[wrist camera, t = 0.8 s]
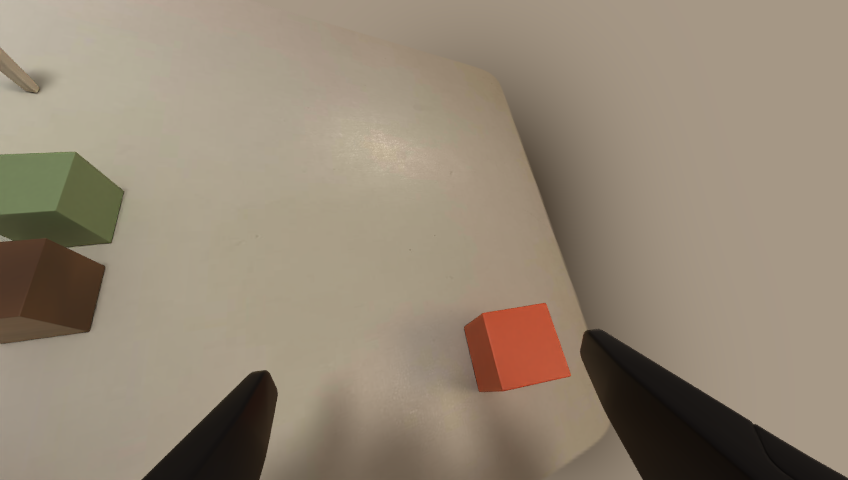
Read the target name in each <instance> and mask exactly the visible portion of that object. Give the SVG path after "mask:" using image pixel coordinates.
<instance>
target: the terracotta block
mask: <svg viewBox="0 0 848 480" xmlns="http://www.w3.org/2000/svg"><path fill="white" fill-rule="evenodd" d="M464 329H465V333H466V338H467V342H468V346H469V351H470V355H471V359H472V363H473V368H474V372H475V376H476V381H477V385H478V389H479V392H495V391H507V390H511V389H516V388H520V387H525V386H529V385H534V384H538V383H543V382H547V381H552V380H556V379H561V378H565V377H570V376H571V374H570V371H569V368H568V365H567V362H566V359H565V356H564V354H563V351H562V348H561V345H560V342H559V339H558V336H557V334H556V331H555V328H554V325H553V322H552V319H551V316H550V314H549V311H548V308H547V305H546V303H542V304H535V305H529V306H523V307H517V308H511V309H505V310H499V311H493V312H487V313H482V314H481V315H480V316H478V317H477V318H475V319H474V320H473V321H471V322H470V323H469V324H467V325H466V326H465V327H464Z"/></svg>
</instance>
